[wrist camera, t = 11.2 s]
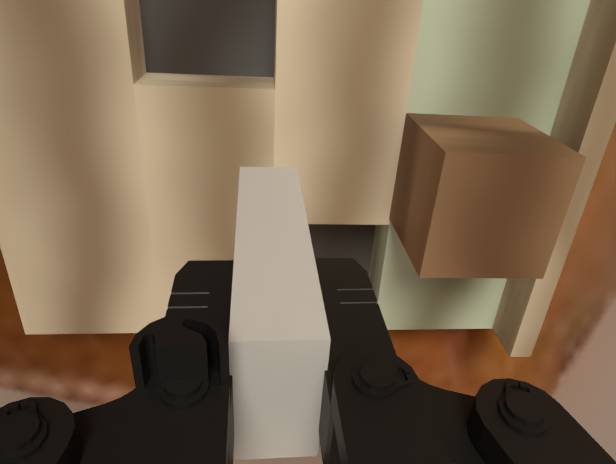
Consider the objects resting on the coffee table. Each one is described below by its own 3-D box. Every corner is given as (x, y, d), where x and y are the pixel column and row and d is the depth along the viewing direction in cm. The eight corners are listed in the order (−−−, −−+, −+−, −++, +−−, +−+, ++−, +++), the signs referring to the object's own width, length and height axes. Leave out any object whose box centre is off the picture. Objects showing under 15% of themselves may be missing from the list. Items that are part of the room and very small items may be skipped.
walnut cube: (389, 218, 20) (419, 277, 17) (406, 112, 18) (445, 152, 14) (490, 220, 21) (543, 278, 17) (518, 118, 19) (586, 157, 15)
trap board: (46, 301, 24) (4, 366, 20) (-58, -118, 16) (-163, -146, 12) (490, 298, 26) (530, 356, 22) (595, -69, 18) (687, -79, 14)
